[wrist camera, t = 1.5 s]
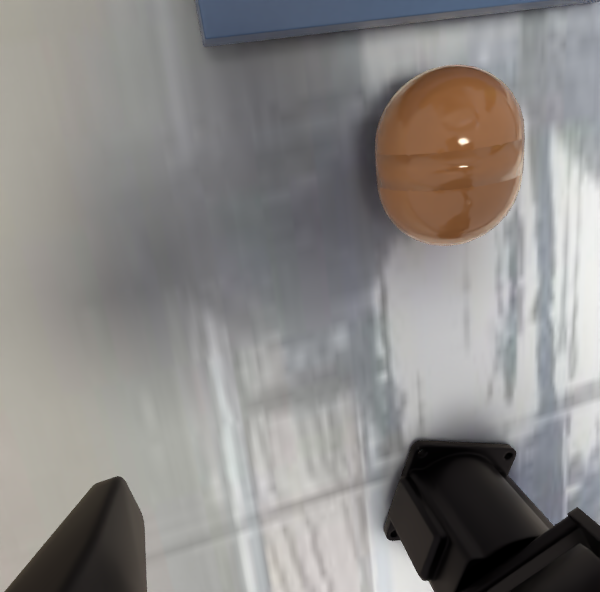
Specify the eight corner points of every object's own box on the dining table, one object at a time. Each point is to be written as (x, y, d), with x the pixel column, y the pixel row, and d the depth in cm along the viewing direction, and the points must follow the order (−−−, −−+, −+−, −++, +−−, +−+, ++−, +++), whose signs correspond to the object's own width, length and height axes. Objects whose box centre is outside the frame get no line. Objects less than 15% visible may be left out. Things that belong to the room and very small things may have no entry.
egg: (471, 64, 19) (567, 45, 14) (470, 219, 21) (551, 247, 16) (350, 81, 18) (407, 65, 13) (363, 240, 20) (415, 275, 16)
